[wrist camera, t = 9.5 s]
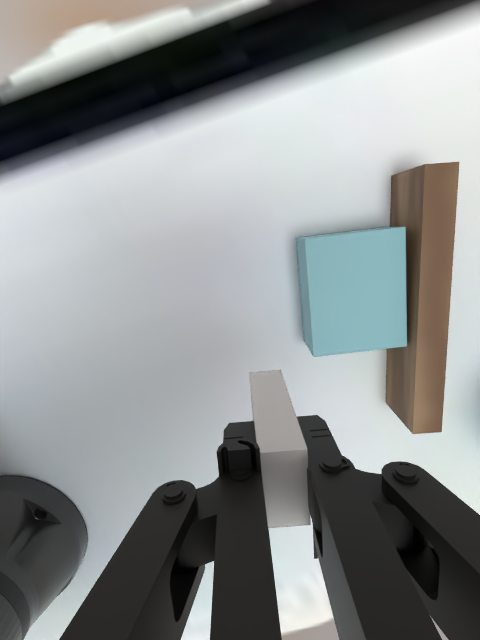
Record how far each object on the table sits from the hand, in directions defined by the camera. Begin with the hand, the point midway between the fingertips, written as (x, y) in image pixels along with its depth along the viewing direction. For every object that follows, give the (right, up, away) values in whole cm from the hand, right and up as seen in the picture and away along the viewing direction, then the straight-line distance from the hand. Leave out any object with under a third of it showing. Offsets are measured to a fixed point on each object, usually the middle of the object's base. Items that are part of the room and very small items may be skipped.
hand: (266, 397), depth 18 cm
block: (+8, +7, +18) cm, 21 cm away
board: (+14, +6, +18) cm, 23 cm away
